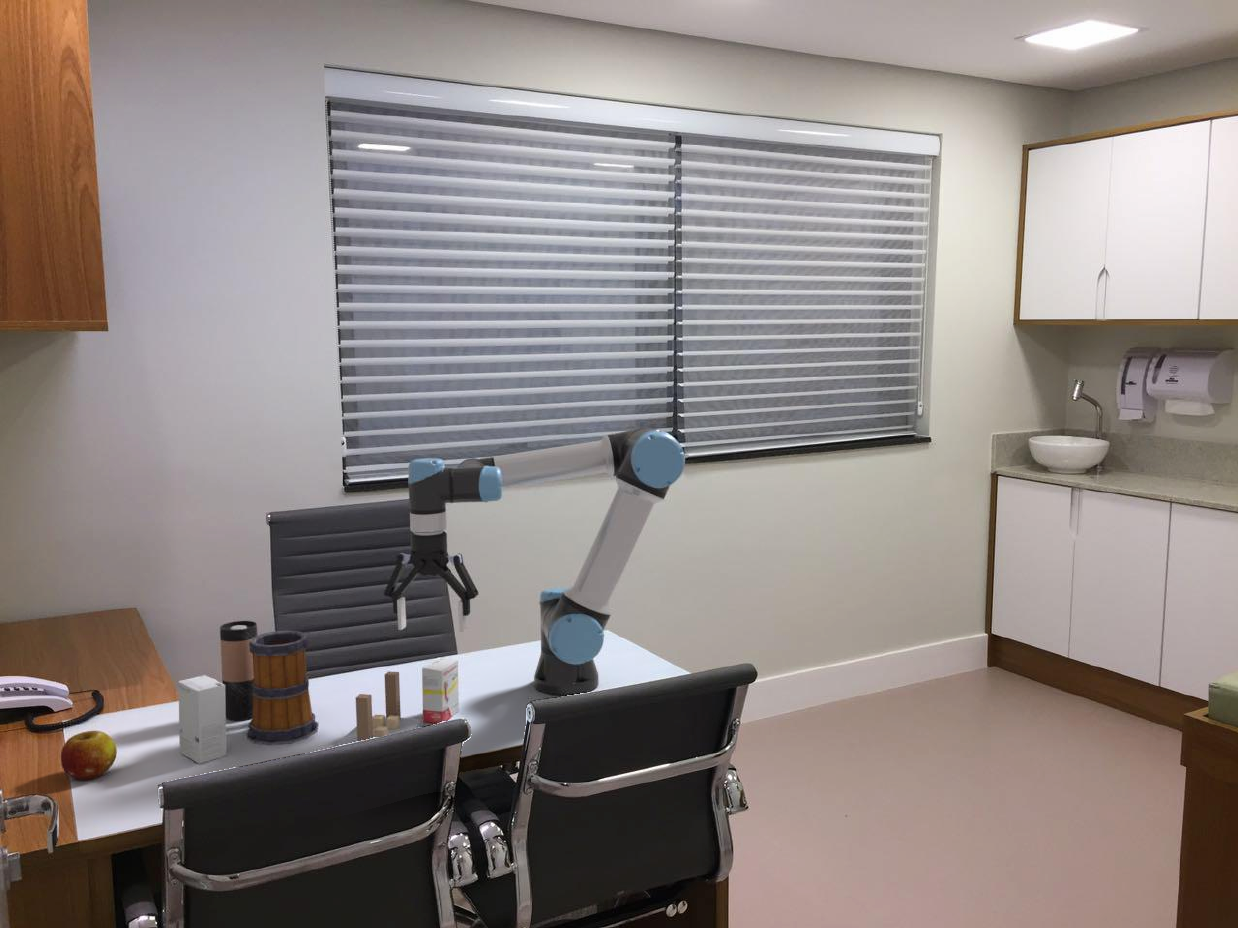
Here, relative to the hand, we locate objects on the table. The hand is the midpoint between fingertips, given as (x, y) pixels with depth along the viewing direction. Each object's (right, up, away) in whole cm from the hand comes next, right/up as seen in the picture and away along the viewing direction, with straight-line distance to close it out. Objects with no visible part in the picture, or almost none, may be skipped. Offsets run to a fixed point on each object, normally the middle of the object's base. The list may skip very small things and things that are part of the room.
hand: (432, 629), depth 218 cm
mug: (-30, -20, -4) cm, 36 cm away
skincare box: (-41, -22, -18) cm, 50 cm away
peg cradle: (-9, -21, -11) cm, 25 cm away
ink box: (+2, -19, +1) cm, 19 cm away
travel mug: (-42, -19, +3) cm, 46 cm away
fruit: (-59, -23, -27) cm, 69 cm away
